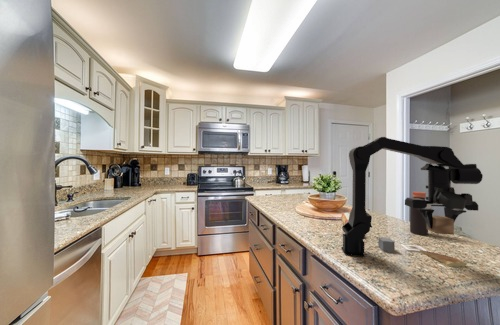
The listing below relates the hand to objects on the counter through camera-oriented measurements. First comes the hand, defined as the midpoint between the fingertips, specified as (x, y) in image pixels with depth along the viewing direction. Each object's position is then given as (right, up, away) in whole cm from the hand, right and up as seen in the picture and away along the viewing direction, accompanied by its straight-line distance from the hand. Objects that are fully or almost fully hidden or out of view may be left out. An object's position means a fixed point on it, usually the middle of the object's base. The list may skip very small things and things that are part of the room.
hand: (439, 228), depth 70 cm
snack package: (-14, -12, +33) cm, 38 cm away
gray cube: (-12, -11, +10) cm, 19 cm away
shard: (+1, -12, +1) cm, 12 cm away
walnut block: (0, -1, 0) cm, 1 cm away
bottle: (+17, -12, +29) cm, 36 cm away
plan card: (-1, -11, +10) cm, 15 cm away
